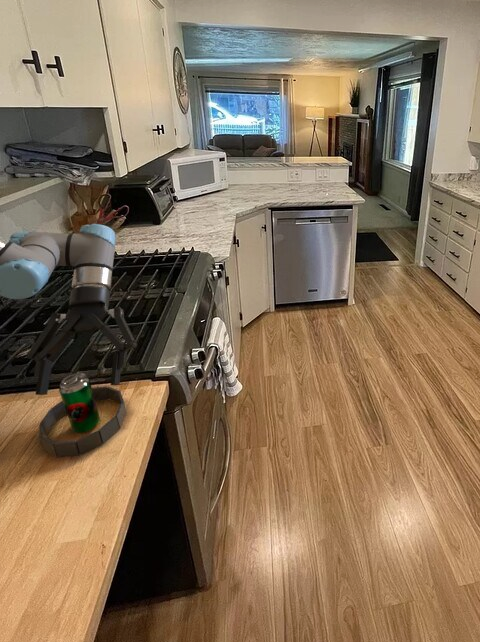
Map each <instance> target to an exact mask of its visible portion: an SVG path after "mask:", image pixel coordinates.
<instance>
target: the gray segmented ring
mask: <svg viewBox="0 0 480 642" xmlns="http://www.w3.org/2000/svg"><path fill="white" fill-rule="evenodd" d="M92 391H93V394H94V398H95V401H96V402H98V401H99V402H101V401H112V402H114V403H116V404H119V406H118V408H117V410H116V412H115V415H114V416H113V417H112V418H110V419H109V420H108V421H107V422H106V423H104V425H103V426H101V427H100V428H99V429H98V430H96V431H93V432H91V433H88V434H87V435H85V436H82V437H79V438H78V439H75V440H66V441H56V442H55V441H53V440H51V439H49V438H47V437H48V436H49V433H50V432H51V431H52V429H53V428H54V426H55V425H56V423H57V422H58V421H60V420H61V419H62V418H63V417H65V416H67V413H66V410H65V407H64V404H63V401H62V400H61V401H59V402H58V403H56V404H55V405H54V406H52V407H51V408H50V409H49V410H48V411H47V413H46V414H45V415H44V417H43V418H42V420H41V421H40V423H39V424H38V430H39V431H38V435H39V440H40V443H41V445H42V448H43V450H44V452H46V453H47V454H49V455H52V456H53V457H56V458H59V459H61V458H70V457H79V456H82V455H83V454H86V453H88V452H90V451H92V450H94V449H96V448H98V447H101V446H102V445H103V444H105V443H106V442H107V441H108V440H110V439H111V438H112V437H113V436H114V435H115V434H116V433H118V431H119V430H121V428H122V426H123V424H124V422H125V419H126V417H127V415H128V413H127V408H126V405H125V400H124V398H123V394H122V392H121V390H118V389H116V388H114V387H111V386H94V387H92Z"/></svg>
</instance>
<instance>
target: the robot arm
mask: <svg viewBox="0 0 480 642" xmlns="http://www.w3.org/2000/svg"><path fill="white" fill-rule="evenodd" d="M115 250H116V232H115V231H114V230H113V228H111V227H109V226H107V225H103V224H99V223H91V224H84V225H83V226H81V227H80V228H79V231H78V233H62V232H45V231H44V232H43V231H37V230H30V231H14V232H13V233H11V235H10V237H9V240H8V239H6V238H4V237H2V236H0V296H1V297H4V298H6V299H9V300H24V299H28V298H31V297H34V296H35V295H36V294H37V293H39V291H41V290H42V289H43V287H44V286H45V285H47V283H48V282H49V279H50V277H51V275H52V274H53V271H54V270H55V269H56V267H74V268H73V276H72V282H71V288H72V290H71V291H70V294H69V302H68V311H67V312H66V313H58V312H55V311H54V312H52V313H51V314H50V317H49V319H48V323H47V324H46V325H45V327H44V328H43V330H42V332H41V333H40V335H39V336H38V337H37V339H36V340H35V341H34V343H33V344H32V346H31V347H30V349H29V351H27V353H26V355H25V358H27V359H30V360H34V361H35V368H34V374H33V375H34V378H37V382H36V388H35V396H46V395H48V392H49V385H50V378H51V372H52V365H53V361H52V360H50V359H51V358H52V357H53V356H54V355H55V354H56V352H58V350H59V349H60V348H61V347H62V346H63V345H64V344H65V343H66V342H67V341H68V340H69V339H71V337H73V336H75V335H76V334H77V332H78V333H86V332H96V331H97V330H99V331H100V332H101V333H103V335H104V336H105V337H106V339H108V341H109V342H111V344H112V346H114V347H115V348H116V350H117V351H114V352H113V356H112V366H111V375H110V376H111V377H110V386H120V384H121V374H122V373H121V371H122V368H126V366H127V356H128V352H129V351H130V350H133V349H136V348H138V347H137V346H138V344H137V341H136V339H135V338H134V336H133V334H132V331H131V329H130V328H129V325H128V324H127V321H126V319H125V312H124V311H125V310H124V309H123V308H121V307H120V306H115V307H114V308H110V309H109V306H110V299H111V291H110V289H111V287H112V277H113V269H114V261H115V260H114V259H115ZM110 316H111V318H113V319H114V321H115V323H116V325H117V327H118V329H119V331H120V333H121V335H122V338H123V339H124V341H125V343H124V342H123V341H122V340H121V339H120V338H119V337H118V336H117V334H116V333H115V332H114V331H113V330H112V329H111V327H110V326H109V325H108V324H107V323H106V321H107V320H108V319H109V317H110ZM65 320H66V322H67V323H66V324H65V325H64V326H63V327H62V328H61V331H60V332H58V330H59V329H60V327H61V325H62V324H64V323H65ZM57 332H58V334H56V333H57ZM55 335H56V336H55Z"/></svg>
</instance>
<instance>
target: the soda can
mask: <svg viewBox="0 0 480 642" xmlns="http://www.w3.org/2000/svg"><path fill="white" fill-rule="evenodd" d="M92 388H93V387H92V384H91V380H90V378H89V377H88V376H87V375H86V374H85V373H83V372H76V373H73V374H70V375H68V376H66V377H65V378H63V379H62V380H61V381H60V384H59V388H58V392H59V395H60V397H61V401H63V404H64V407H65V410H66V413H67V414H66V416H67V419H68V421H69V425H70V428H71V431H72V432H73V433H74V434H86V433H88V432H91V431H92V430H93V429H95V428H96V427H97V426H98V425H99V422H100V421H101V416H100V412H99V408H98V405H97V401H95V398H94V394H93V391H92Z"/></svg>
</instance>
